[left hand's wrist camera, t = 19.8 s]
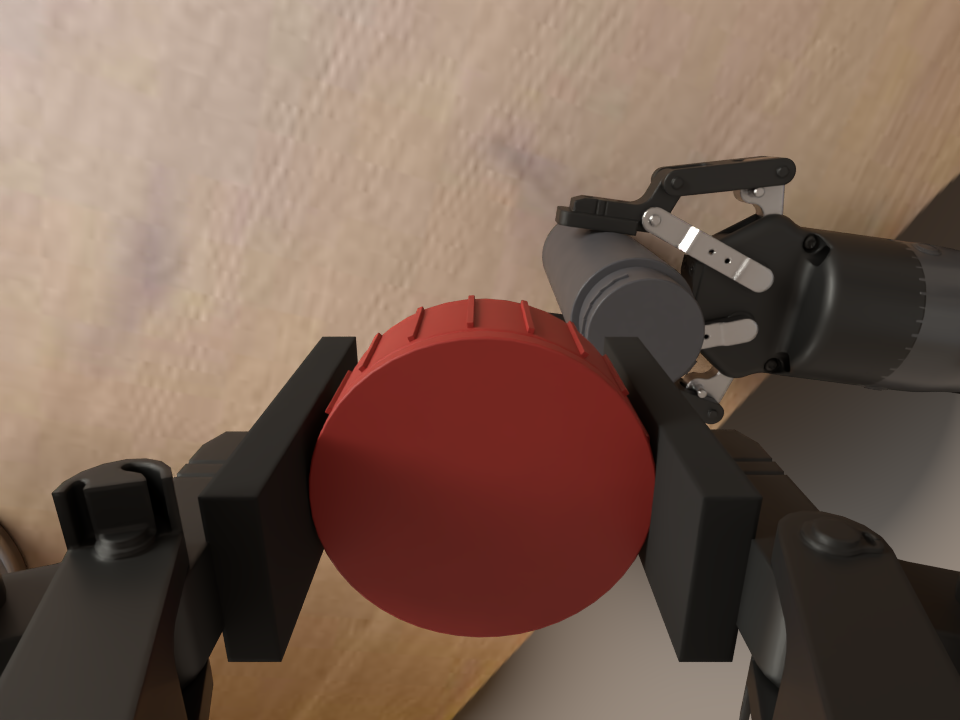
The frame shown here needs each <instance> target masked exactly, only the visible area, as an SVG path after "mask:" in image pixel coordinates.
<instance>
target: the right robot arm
mask: <svg viewBox="0 0 960 720" xmlns="http://www.w3.org/2000/svg"><path fill="white" fill-rule="evenodd" d="M795 173H796V166H795V164H794V162H793V161H792V160H790V159H788V158H780V157H768V156H758V157H749V158H740V159H731V160H721V161H712V162H703V163H694V164H685V165H676V166H666V167H660V168H658V169H657V170H656V171H655V172H654V173H653V175H652V177H651V184H650V186H649V187H648V189H647V191H646V192H645V194H644V195H643V196H642V197H641V198H640V199H638V200H636V201H631V202H630V201H622V200H614V199H607V198H600V197H593V196H585V195H580V196H576V197H572V198H571V201H570V207H564V206H558V207H557V213H556V218H555V221H556V222H557V223H558V224H559V225H563V226H568V227H575V228H582V229H590V230H597V231H604V232H614V233H620V234H626V235H634V236H636V232H637V231H640V232H648V233H651V234H653V235H655V236H656V237H658V238H660V239H662V240H664V241H665V242H667V243H669V244H671V245H673V246H674V247H676V248H678V249H680V250H681V251H683V252H685V253H687V254H688V255H685V254H684V258H683V262H682V266H681V276H682V277H683V278H684V279H685V280H686V282H687V283H688V285H689V287H690V289H691V291H692V293H693V297H694V298H695V300H696V301H697V303H698V304H699V306H700V308H701V311H702V314H703V317H704V323H705V336H704V342H703V345H702V348H701V351H700V353H701V354H702V355H703V356H704V357H705V358H706V359H707V360H708V361H709V362H710V363H711V364H712V365H713V366H712V368H711V369H710V370H709V371H707V372H704V373H697V372H691V373H688V374H687V375H685V376H684V378H683V379H682V378H680V379H678V380H677V381H676V382H674V384H675V385H676V386H677V388H678V389H679V390H680V391H681V393H682V394H683V395H684V397H685V398H686V399H687V400H688V402H689V403H690V404H691V406H692V407H693V408H694V409H695V411H696V412H697V413H698V415H699V416H700V417H701V418H702V420H703V421H704V422H705V423H707V424H715V423H717V422H719V421H720V420H721V419H722V418H723V415H724V410H723V408H722V406H721V405H720V404H719V403H720V401H721V399H722V398H723V396H724V394H725V392H726V391H727V389H728V387H729V385H730V384H731V382H732V380H733V378H741V377H744V376H747V375H750V374H754V373H770V374H776V375H782V376H790V377H798V378H806V379H813V380H821V381H829V382H837V383H844V384H852V385H860V386H863V387H864V388H868V389H874V390H888V389H891V390H899V391H910V392H952V393H959V394H960V251H958V250H955V249H951V248H946V247H941V246H935V245H930V244H926V243H913V242H906V241H898V240H891V239H885V238H878V237H870V236H863V235H856V234H848V233H841V232H834V231H827V230H819V229H812V228H805V227H800V226H798V225H797V224H795V223H794V222H793V221H792V220H791V219H790V218H788V217H786V216H784V215H783V205H784V189H785V184H787V183H789V182H790V181H791V180H792V179H793V178H794V176H795ZM725 191H733V193H734V196H735V198H736V199H737V200H739V201H742V202H745V203H749V204H752V205H753V206H754V207H755V209H756V214H754V215H752V216H750V217H748V218H746V219H744V220H742V221H740V222H738V223H736V224H734V225H732V226H730V227H728V228H726V229H724V230H722V231H720V232H718V233H716V234H714V235H712V236H710V235H708V234H706V233H705V232H703V231H701V230H699V229H697V228H695V227H693V226H692V225H690V224H688V223H686V222H685V221H683V220H681V219H679V218H678V217H676V216H674V215H672V214H671V211H672V210H673V208H674V206H675V205H676V203H677V201H678V200H679V198H680V197H681V196H687V195H696V194H706V193H715V192H725ZM547 313H548V312H547ZM549 314H551V315H553V316H555V317H557V318H559V319H561V320H563V321H564V322H565V319H564V317H563V314H556V313H549Z"/></svg>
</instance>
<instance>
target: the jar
mask: <svg viewBox="0 0 960 720" xmlns="http://www.w3.org/2000/svg"><path fill="white" fill-rule="evenodd" d="M542 259H543V266H544V269H545V272H546V274H547V277H548V279H549V282H550V284H551V287H552V289H553V292H554V294H555V297H556V299H557V302H558V304H559V307H560V309H561V312H562V314H563V317H564V319H565V322H566V323H568V322H569V321H571V322H573V323H574V325H575V327H576V329H577V331H578V332H580V333H581V334H582V335H583V336H584V337H585V338H586V339H587V340H588V341H589V342H590V343H592V344H593V346H594V347H595V348H596V349H597V351H598V352H599V353H600V354H601V355H602V356H603V351H604V338H605V337H638V338H639V339H640V340H641V342H642V343H643V344H644V345H645V347H646V348H647V349H648V350H649V352H650V353H651V354H652V356H653V357H654V358H655V359H656V361H657V362H658V363H659V365H660V366H661V367H662V368H663V370H664V371H665V372H666V374H667V375H668V376H669V377H670V379H671V380H672V381H673V383H674V382H676V381H677V380H678V379H680V378H681V377H682V376H684V375H685V374H686V375H687V373H688V372H689V371H690V370H691V368H692V367H693V366H694V365H695V364H696V362H697V361H696V359H697V357H698V355H699V353H700V351H701V348H702V345H703V342H704V336H705V323H704V317H703V314H702V311H701V308H700V306H699V304H698V303H697V301H696V300H695V298H694V297H693V293H692V291H691V289H690V287H689V285H688V283H687V282H686V280H685V279H684V278H683V277H682V276H681V274H680V273H678V272H677V271H676V270H675V269H674V268H672V267H671V266H670V265H668V264H667V263H666V262H664V261H663V260H662V259H660V258H659V257H658V256H656V255H655V254H653V253H652V252H651V251H649V250H648V249H647V248H645V247H644V246H643V245H641V244H640V243H639V242H637V241H636V240H634V239H633V238H632V237H630V236H629V235H626V234H620V233H614V232H604V231H597V230H590V229H582V228H575V227H568V226H563V225H559V224H557V225H556V226H555V227H554V228H553V229H552V230H551V232H550V233H549V235H548V236H547V239H546V241H545V244H544V247H543V254H542Z"/></svg>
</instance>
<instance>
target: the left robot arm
mask: <svg viewBox="0 0 960 720" xmlns="http://www.w3.org/2000/svg"><path fill="white" fill-rule="evenodd" d="M605 354H606V355H607V356H608V357H609V359H610V361H611V363H612V364H613V366H614V368H615V370H616V371H617V373H618V375H619V377H620V378H621V380H622V382H623V383H624V385H625V387H626V389H627V390H628V392H629V394H628V395H627V397H628V399H629V400H630V402H631V404H632V406H633V408H634V409H635V411H636V413H637V415H638V417H639V418H640V420H641V422H642V424H643V425H644V427H645V429H646V431H647V433H648V434H649V436H650V442H649V443H650V446H651V450H652V454H653V458H654V462H655V468H656V475H655V485H654V494H653V503H652V512H651V520H650V528H649V532H648V534H647V537H646V540H645V542H644V544H643V546H642V548H641V550H640V552H639V553H638V554H639V557H640V559H641V562H642V565H643V568H644V570H645V573H646V576H647V578H648V581H649V583H650V586H651V589H652V591H653V594H654V597H655V599H656V602H657V605H658V607H659V610H660V613H661V615H662V618H663V621H664V623H665V626H666V629H667V631H668V634H669V636H670V639H671V642H672V644H673V647H674V650H675V652H676V655H677V658H678V660H679V662H732V660H733V655H734V650H735V644H736V639H737V634H738V629H739V631H740V633H741V635H742V637H743V639H744V641H745V642H746V644H747V646H748V648H749V650H750V652H751V654H752V656H751V661H750V666H749V671H748V677H747V681H746V686H745V691H744V697H743V702H742V706H741V711H740V718H739V720H749V716H750V713H751V718H752V720H960V572H958V571H953V570H948V569H943V568H938V567H933V566H927V565H922V564H917V563H912V562H907V561H903V560H899V559H897V557H896V555H895V553H894V551H893V550H892V548H891V547H890V546H889V545H888V544H887V543H886V541H885V540H884V539H883V538H882V537H881V536H880V535H878V534H877V533H875V532H874V531H872V530H871V529H869V528H868V527H866V526H865V525H862V524H860V523H857V522H855V521H853V520H850V519H848V518H846V517H843V516H839V515H835V514H830V513H826V512H821V511H819V510H818V509H817V508H816V507H815V506H814V505H813V503H812V502H811V501H810V500H809V499H808V498H807V497H806V496H805V495H804V493H803V492H802V491H801V490H800V489H799V488H798V487H797V486H796V485H795V483H794V482H793V481H792V480H791V479H790V478H789V477H788V476H787V475H784V471H783V470H782V469H781V468H780V467H779V466H778V465H777V464H776V462H772V458H771V457H770V456H769V455H768V454H767V452H766V451H765V450H764V449H763V448H762V447H761V446H760V445H759V444H758V443H757V442H755V441H754V440H752V439H750V438H748V437H747V436H745V435H743V434H741V433H740V432H738V431H736V430H710V429H709V427H708V426H707V425H706V424H705V422H704V421H703V420H702V418H701V417H700V416H699V415H698V413H697V412H696V411H695V409H694V408H693V407H692V406H691V404H690V403H689V402H688V400H687V399H686V398H685V397H684V395H683V394H682V393H681V391H680V390H679V389H678V388H677V386H676V385H675V384H674V383H673V381H672V380H671V379H670V377H669V376H668V375H667V374H666V372H665V371H664V370H663V368H662V367H661V366H660V365H659V363H658V362H657V361H656V359H655V358H654V357H653V356H652V354H651V353H650V352H649V350H648V349H647V348H646V347H645V345H644V344H643V343H642V342H641V340H640V339H639V338H638V337H605V338H604V351H603V355H605ZM357 364H358V359H357V346H356V337H322V338H321V339H320V341H319V342H318V343H317V345H316V346H315V347H314V348H313V350H312V351H311V352H310V354H309V355H308V356H307V357H306V359H305V360H304V361H303V363H302V364H301V365H300V366H299V368H298V369H297V370H296V372H295V373H294V374H293V375H292V377H291V378H290V379H289V380H288V382H287V383H286V384H285V386H284V387H283V388H282V389H281V391H280V392H279V393H278V395H277V396H276V397H275V398H274V400H273V401H272V402H271V404H270V405H269V406H268V407H267V409H266V410H265V411H264V413H263V414H262V415H261V416H260V418H259V419H258V420H257V421H256V423H255V424H254V425H253V427H252V428H251V429H250V430H249V432H225V433H223V434H221V435H219V436H218V437H216V438H214V439H212V440H211V441H209V442H207V443H205V444H204V445H202V447H201V448H200V449H199V450H198V451H197V452H196V453H195V454H194V455H193V457H192V458H191V459H190V460H189V464H185V466H184V467H183V468H182V469H181V470H180V471H179V472H178V473H177V477H174V478H173V477H172V472H171V468H170V467H169V466H168V465H166V464H165V463H163V462H162V461H157V460H152V459H125V460H120V461H115V462H110V463H106V464H102V465H99V466H96V467H93V468H91V469H88V470H85V471H82V472H80V473H79V474H77V475H75V476H73V477H71V478H70V479H68V480H66V481H64V482H63V483H62V484H61V485H60V486H59V487H58V488H57V489H56V490H55V491H54V492H53V493H52V496H53V500H54V504H55V507H56V511H57V514H58V518H59V521H60V525H61V528H62V532H63V535H64V539H65V543H66V546H67V550H68V551H67V553H66V554H65V556H64V558H63V560H62V562H61V563H57V564H53V565H47V566H42V567H37V568H32V569H26V566H25V563H24V560H23V558H22V556H21V554H20V552H19V550H18V548H17V546H16V545H15V543H14V542H13V540H12V539H11V538H10V536H9V535H8V534H7V532H6V531H5V530H4V529H3V528H2V527H1V526H0V720H208V719H209V712H210V705H211V697H212V690H213V679H212V671H211V666H210V661H209V656H210V654H211V652H212V650H213V648H214V646H215V645H216V643H217V641H218V639H219V637H220V635H221V633H222V631H223V637H224V642H225V648H226V653H227V658H228V662H281V661H282V659H283V656H284V653H285V651H286V648H287V645H288V643H289V640H290V638H291V635H292V632H293V630H294V627H295V624H296V622H297V619H298V616H299V614H300V611H301V608H302V606H303V603H304V600H305V598H306V595H307V592H308V590H309V587H310V584H311V582H312V579H313V577H314V574H315V571H316V569H317V566H318V563H319V561H320V558H321V555H322V553H323V550H324V547H323V545H322V543H321V541H320V539H319V537H318V534H317V531H316V528H315V525H314V522H313V519H312V514H311V507H310V501H309V473H310V466H311V459H312V455H313V452H314V449H315V445H316V442H317V439H318V437H319V435H320V432H321V430H322V428H323V426H324V424H325V422H326V420H327V418H328V416H329V414H327V413H325V411H326V409H327V407H328V406H329V404H330V402H331V400H332V398H333V397H334V395H335V393H336V391H337V390H338V388H339V386H340V384H341V382H342V381H343V379H344V377H345V375H346V373H347V372H348V370H349V371H351V372H353V370H354V368H355V367H356V365H357Z"/></svg>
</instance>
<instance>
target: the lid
mask: <svg viewBox="0 0 960 720" xmlns="http://www.w3.org/2000/svg"><path fill="white" fill-rule="evenodd" d="M628 394H629V392H628V390H627V389H626V387H625V385H624V383H623V382H622V380H621V378H620V377H619V375H618V373H617V371H616V370H615V368H614V366H613V364H612V363H611V361H610V359H609V357H608V356H607V355H606V354H605V355H603V356H602V355H601V354H600V353H599V352H598V351H597V349H596V348H595V347H594V346H593V344H592V343H590V342H589V341H588V340H587V339H586V338H585V337H584V336H583V335H582V334H581V333H580V332H578V331H577V329H576V327H575V325H574V323H573V322H571V321H569V322H568V323H566V322H564V321H563V320H561V319H559V318H557V317H555V316H553V315H551V314H549V313H547V312H545V311H542V310H539V309H537V308H534V307H531V306H528V302H527V301H524V300H522V301H521V304H520V303H516V302H511V301H507V300H495V299H475V296H474V295H472V296H469V298H468V299H467V300H460V301H454V302H448V303H444V304H441V305H437V306H434V307H431V308H427V309H425V310H424V308H423V307H420V308H418V309H417V312H416V314H414V315H412V316H410V317H408V318H406V319H404V320H403V321H401V322H400V323H398V324H396V325H395V326H393V327H392V328H390V329H389V330H388V331H387V332H386V333H384V334H383V335H381V334H380V333H378V334H377V335H376V336H375V337H374V339H373V341H372V343H371V345H370V347H369V349H368V350H367V351H366V352H365V353H364V355H363V356H362V358H361V359H360V361H359V362H358V364H357V365H356V367H355V368H354V370H353V372H351V371H349V370H348V372H347V373H346V375H345V377H344V379H343V381H342V382H341V384H340V386H339V388H338V390H337V391H336V393H335V395H334V397H333V398H332V400H331V402H330V404H329V406H328V407H327V409H326V411H325V413H327V414H329V416H328V418H327V420H326V422H325V424H324V426H323V428H322V430H321V432H320V435H319V437H318V439H317V442H316V445H315V449H314V452H313V455H312V459H311V466H310V473H309V501H310V507H311V514H312V519H313V522H314V525H315V528H316V531H317V534H318V537H319V539H320V541H321V543H322V545H323V547H324V549H325V551H326V554H327V555H328V557H329V558H330V560H331V561H332V563H333V564H334V566H335V567H336V569H337V570H338V571H339V572H340V574H341V575H342V576H343V577H344V578H345V579H346V580H347V582H348V583H349V584H350V585H351V586H352V587H353V588H354V589H356V590H357V591H358V592H359V593H360V594H361V595H362V596H363V597H365V598H366V599H367V600H369V601H370V602H372V603H373V604H374V605H376V606H377V607H379V608H380V609H382V610H383V611H385V612H387V613H389V614H391V615H393V616H395V617H396V618H398V619H400V620H403V621H405V622H408V623H410V624H413V625H415V626H418V627H421V628H425V629H428V630H432V631H435V632H439V633H445V634H451V635H456V636H468V637H500V636H507V635H515V634H521V633H525V632H529V631H533V630H538V629H541V628H544V627H546V626H549V625H552V624H555V623H558V622H560V621H562V620H564V619H566V618H568V617H570V616H572V615H574V614H577V613H578V612H580V611H581V610H583V609H585V608H586V607H588V606H589V605H591V604H592V603H594V602H595V601H597V600H598V599H599V598H600V597H601V596H603V595H604V594H605V593H606V592H607V591H609V590H610V589H611V588H612V587H613V586H614V585H615V584H616V583H617V582H618V581H619V580H620V579H621V577H622V576H623V575H624V574H625V573H626V571H627V570H628V569H629V567H630V566H631V565H632V563H633V562H634V560H635V559H636V557H637V555H638V553H639V552H640V550H641V548H642V546H643V544H644V542H645V540H646V537H647V534H648V532H649V528H650V520H651V512H652V503H653V494H654V485H655V475H656V468H655V462H654V458H653V454H652V450H651V446H650V443H649V442H650V436H649V434H648V433H647V431H646V429H645V427H644V425H643V424H642V422H641V420H640V418H639V417H638V415H637V413H636V411H635V409H634V408H633V406H632V404H631V402H630V400H629V399H628V397H627V395H628Z"/></svg>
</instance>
